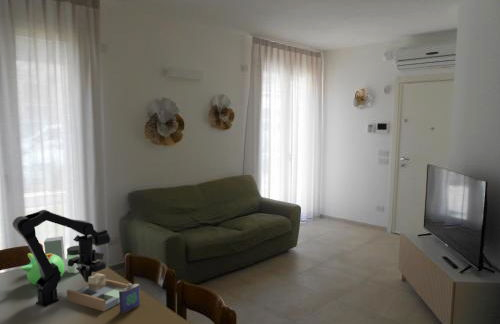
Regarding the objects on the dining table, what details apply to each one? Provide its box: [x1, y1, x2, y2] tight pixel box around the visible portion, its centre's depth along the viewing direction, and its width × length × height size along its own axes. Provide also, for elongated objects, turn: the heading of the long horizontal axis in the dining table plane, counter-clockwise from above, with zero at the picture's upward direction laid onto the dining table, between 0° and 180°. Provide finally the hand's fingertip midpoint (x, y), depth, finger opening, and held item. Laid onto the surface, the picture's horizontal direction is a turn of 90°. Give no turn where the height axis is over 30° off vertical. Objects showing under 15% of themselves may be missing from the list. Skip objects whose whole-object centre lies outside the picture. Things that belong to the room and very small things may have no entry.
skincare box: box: [43, 236, 66, 266], centre depth 197 cm, size 8×7×16 cm
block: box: [87, 272, 106, 290], centre depth 166 cm, size 5×5×5 cm
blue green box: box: [119, 282, 141, 314], centre depth 151 cm, size 9×3×11 cm, turn 144°
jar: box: [66, 245, 80, 274], centre depth 192 cm, size 9×8×12 cm
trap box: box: [66, 278, 129, 312], centre depth 161 cm, size 16×22×4 cm
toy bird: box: [19, 252, 65, 286], centre depth 176 cm, size 18×17×15 cm
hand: (87, 282), depth 169 cm, fingers closed
